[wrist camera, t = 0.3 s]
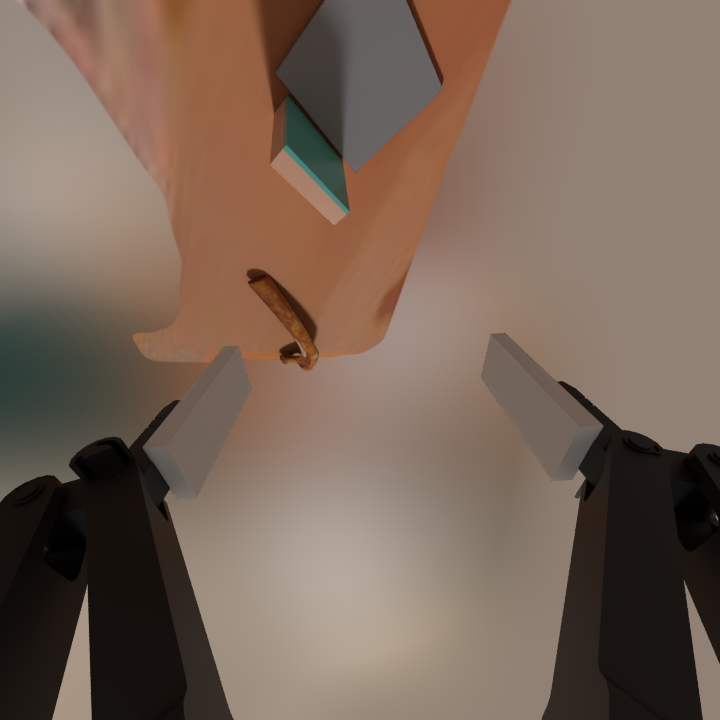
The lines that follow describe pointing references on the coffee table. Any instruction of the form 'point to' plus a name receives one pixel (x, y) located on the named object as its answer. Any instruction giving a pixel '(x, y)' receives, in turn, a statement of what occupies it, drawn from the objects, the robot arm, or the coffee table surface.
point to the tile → (308, 162)
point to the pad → (360, 73)
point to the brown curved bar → (286, 322)
